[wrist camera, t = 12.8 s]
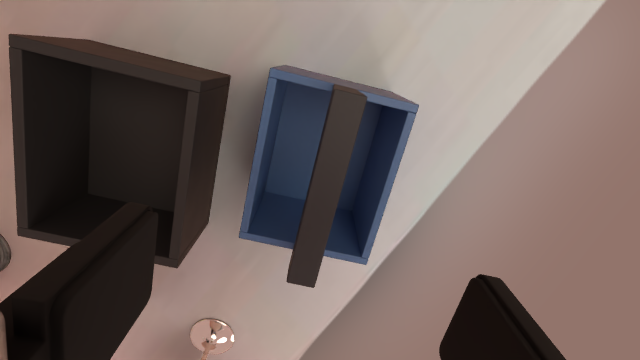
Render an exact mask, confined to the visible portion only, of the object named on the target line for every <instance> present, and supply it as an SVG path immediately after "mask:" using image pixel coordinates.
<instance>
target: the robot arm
mask: <svg viewBox="0 0 640 360" xmlns="http://www.w3.org/2000/svg"><path fill="white" fill-rule="evenodd" d="M157 226H158V213H156V212H153V210H152V207H151V206H148V205H143V204H138V203H134V202H128V203H126V204H125V205H124V206H123V207H122V208H120V209H119V210H118V211H117V212H115V213H114V214H113V215H112V216H110V217H109V218H108V219H107V220H105V221H104V222H103V223H102V224H101V225H99V226H98V227H97V228H96V229H94V230H93V231H92V232H91V233H89V234H88V235H87V236H86V237H84V238H83V239H82V240H81V241H80V242H77V243H75V244H74V245H72V246H71V247H70V248H68V249H67V250H66V251H65V252H63V253H62V254H61V255H60V256H58V257H57V258H56V259H55V260H53V261H52V262H51V263H50V264H48V265H47V266H46V267H45V268H43V269H42V270H41V271H40V272H38V273H37V274H36V275H35V276H33V277H32V278H31V279H30V280H28V281H27V282H26V283H25V284H23V285H22V286H21V287H20V288H18V289H17V290H16V291H15V292H13V293H12V294H11V295H10V296H8V297H7V298H6V299H5V300H3V301H2V302H1V303H0V360H110V359H111V357H112V356H113V354H114V353H115V351H116V350H117V348H118V347H119V345H120V344H121V342H122V341H123V339H124V338H125V336H126V335H127V333H128V332H129V330H130V329H131V327H132V326H133V324H134V323H135V321H136V320H137V318H138V317H139V315H140V314H141V312H142V311H143V309H144V308H145V306H146V305H147V303H148V301H149V298H150V295H151V291H152V280H153V269H154V258H155V247H156V237H157ZM439 353H440V358H441V360H566V359H565V358H564V357H563V355H562V354H561V353H560V351H559V350H558V349H557V348H556V347H555V345H554V344H553V343H552V342H551V340H550V339H549V338H548V337H547V335H546V334H545V333H544V332H543V330H542V329H541V328H540V327H539V325H538V324H537V323H536V322H535V320H533V318H532V317H531V315H530V314H529V313H528V312H527V311H526V309H525V308H524V307H523V306H522V304H521V303H520V302H519V301H518V299H517V298H516V297H515V296H514V294H513V293H512V292H511V291H510V290H509V288H508V287H507V286H506V285H505V283H504V282H503V281H502V280H501V279H500V278H497V277H492V276H487V275H482V274H480V275H478V276H477V277H476V278H472V279H471V280H470V282H469V284H468V286H467V288H466V290H465V292H464V294H463V297H462V299H461V301H460V303H459V305H458V307H457V309H456V312H455V314H454V316H453V318H452V320H451V322H450V324H449V327H448V329H447V331H446V333H445V335H444V338H443V340H442V342H441V344H440V349H439Z"/></svg>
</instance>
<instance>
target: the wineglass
mask: <svg viewBox="0 0 640 360" xmlns="http://www.w3.org/2000/svg"><path fill="white" fill-rule="evenodd" d="M190 339H191V342H192V343H193V345H194V346H195V347H196V348H197V349H198V350H200V351H202V352H204V353H203V355H202V358H201V360H206V358H207V356H208V354H214V355H215V354H222V353H224V352H226V351H228V350H229V349H230V348H231V347H232V345H233V343H234V333H233V331H232V329H231V328H230V327H229V326H228V325H227V324H226V323H224V322H222V321H220V320H216V319H204V320H201V321H199V322H197V323H196V324H194V326H193V327H192V329H191V331H190Z"/></svg>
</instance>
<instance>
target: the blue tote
mask: <svg viewBox="0 0 640 360" xmlns="http://www.w3.org/2000/svg"><path fill="white" fill-rule="evenodd" d="M418 107H419V105H418V104H416V103H414V102H412V101H409V100H407V99H405V98H403V97H401V96H399V95H397V94H395V93H393V92H390V91H386V90H382V89H378V88H374V87H370V86H366V85H362V84H358V83H354V82H350V81H347V80H343V79H339V78H335V77H331V76H327V75H323V74H319V73H315V72H311V71H307V70H303V69H299V68H295V67H291V66H287V65H283V66H278V67H273V68H270V72H269V78H268V83H267V88H266V94H265V99H264V104H263V110H262V115H261V120H260V126H259V131H258V137H257V142H256V147H255V153H254V158H253V163H252V169H251V174H250V180H249V185H248V190H247V196H246V201H245V206H244V212H243V217H242V222H241V228H240V233H239V238H242V239H247V240H252V241H256V242H261V243H266V244H270V245H275V246H280V247H284V248H289V249H293V252H292V256H291V260H290V264H289V269H288V275H287V282H288V283H293V284H297V285H302V286H307V287H312V288H314V287H315V283H316V280H317V276H318V273H319V269H320V266H321V262H322V258H323V256H327V257H331V258H336V259H341V260H345V261H350V262H355V263H359V264H364V265H366V264H367V262H368V258H369V256H370V252H371V249H372V246H373V243H374V240H375V237H376V234H377V231H378V228H379V225H380V222H381V219H382V216H383V213H384V210H385V207H386V204H387V201H388V198H389V195H390V192H391V189H392V186H393V183H394V180H395V177H396V174H397V171H398V168H399V165H400V162H401V159H402V156H403V153H404V150H405V147H406V144H407V141H408V138H409V135H410V132H411V128H412V125H413V122H414V119H415V116H416V113H417V110H418Z"/></svg>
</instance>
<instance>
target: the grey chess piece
mask: <svg viewBox="0 0 640 360" xmlns="http://www.w3.org/2000/svg"><path fill="white" fill-rule="evenodd" d="M10 258H11V253H10V248H9V246H8V243H7V242H6V241H5V239H4V238H3V237H2V236H1V235H0V271H2V270H3V269H4V268H6V267H7V265H8V264H9V262H10Z"/></svg>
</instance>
